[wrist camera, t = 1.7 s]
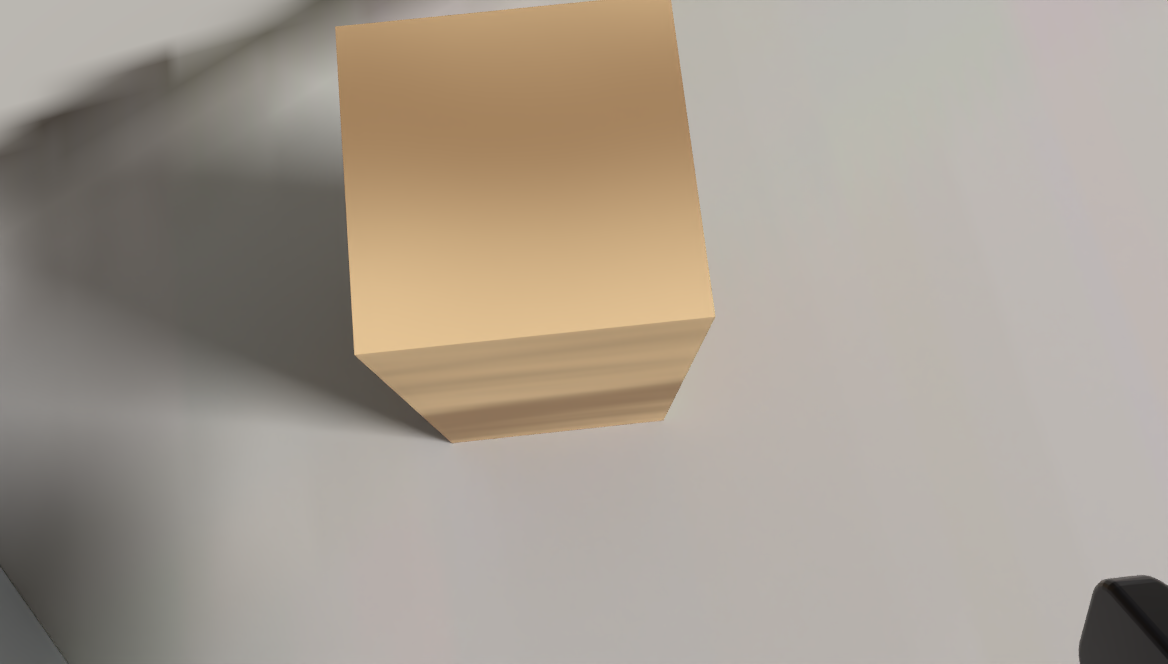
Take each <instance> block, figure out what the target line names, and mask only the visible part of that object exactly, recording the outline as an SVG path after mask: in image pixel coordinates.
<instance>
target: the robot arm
mask: <svg viewBox="0 0 1168 664" xmlns="http://www.w3.org/2000/svg"><path fill="white" fill-rule="evenodd" d="M1079 660H1080V664H1168V585H1166V584H1165V583H1163V582H1161V581H1160V580H1158V579H1155V578H1153V577H1150V576H1146V575H1137V576H1128V577H1120V578H1111V579H1105V580H1102V581H1101V582H1100V583H1099V584H1098V585H1097V586H1096V587H1095V589H1094V591H1093V594H1092V598H1091V602H1090V605H1089V609H1088V613H1087V617H1086V620H1085V624H1084V628H1083V632H1082V635H1081V639H1080V643H1079Z"/></svg>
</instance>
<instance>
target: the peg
mask: <svg viewBox="0 0 1168 664" xmlns="http://www.w3.org/2000/svg"><path fill="white" fill-rule="evenodd" d="M335 30H336V47H337V64H338V81H339V98H340V116H341V133H342V150H343V167H344V184H345V201H346V219H347V236H348V253H349V270H350V287H351V304H352V322H353V339H354V355H355V356H356V357H357V358H358V359H359V360H361V361H362V362H363V363H364V364H365V365H366V366H367V367H368V368H369V369H371V370H372V371H373V372H374V373H375V374H376V375H377V376H378V377H379V378H380V379H382V380H383V381H384V382H385V383H386V384H387V385H388V386H389V387H390V388H392V389H393V390H394V391H395V392H396V393H397V394H398V395H399V396H400V397H402V398H403V399H404V400H405V401H406V402H407V403H408V404H409V405H410V406H411V407H413V408H414V409H415V410H416V411H417V412H418V413H419V414H420V415H421V416H423V417H424V418H425V419H426V420H427V421H428V422H429V423H430V424H431V425H432V426H434V427H435V428H436V429H437V430H438V431H439V432H440V433H441V434H442V435H444V436H445V437H446V438H447V439H448V440H449V441H450V442H451V443H457V442H467V441H476V440H485V439H495V438H504V437H513V436H522V435H532V434H541V433H550V432H559V431H569V430H578V429H587V428H597V427H606V426H615V425H624V424H634V423H643V422H652V421H662V420H664V418H665V416H666V414H667V412H668V410H669V408H670V406H671V404H672V402H673V400H674V398H675V396H676V394H677V392H678V390H679V388H680V386H681V384H682V382H683V380H684V378H685V376H686V374H687V372H688V370H689V368H690V366H691V364H692V362H693V360H694V358H695V356H696V354H697V352H698V350H699V348H700V346H701V344H702V342H703V340H704V338H705V336H706V334H707V332H708V330H709V328H710V326H711V324H712V322H713V320H714V318H715V311H714V304H713V297H712V290H711V283H710V275H709V268H708V261H707V254H706V247H705V240H704V233H703V226H702V218H701V211H700V204H699V197H698V190H697V183H696V176H695V169H694V161H693V154H692V147H691V140H690V133H689V126H688V119H687V112H686V104H685V97H684V90H683V83H682V76H681V69H680V62H679V55H678V47H677V40H676V33H675V26H674V19H673V12H672V5H671V0H598V1H588V2H578V3H568V4H558V5H548V6H538V7H528V8H518V9H508V10H498V11H488V12H478V13H468V14H458V15H448V16H438V17H428V18H418V19H408V20H398V21H388V22H377V23H367V24H357V25H347V26H337V27H335Z"/></svg>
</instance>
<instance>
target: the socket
mask: <svg viewBox="0 0 1168 664" xmlns="http://www.w3.org/2000/svg"><path fill="white" fill-rule="evenodd" d="M0 664H68V663H67V662H66V660H65V659H64V658H63V656H62V655H61V653H60V652H59V650H58V649H57V648H56V646H55V645H54V643H53V642H52V640H51V639H50V637H49V636H48V635H47V633H46V632H45V630H44V629H43V627H42V626H41V625H40V623H39V622H38V620H37V619H36V617H35V616H34V614H33V613H32V612H31V610H30V609H29V607H28V606H27V604H26V603H25V602H24V600H23V599H22V597H21V596H20V594H19V593H18V591H17V590H16V589H15V587H14V586H13V584H12V583H11V581H10V580H9V578H8V577H7V576H6V574H5V573H4V571H3V570H2V568H1V567H0Z"/></svg>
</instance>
